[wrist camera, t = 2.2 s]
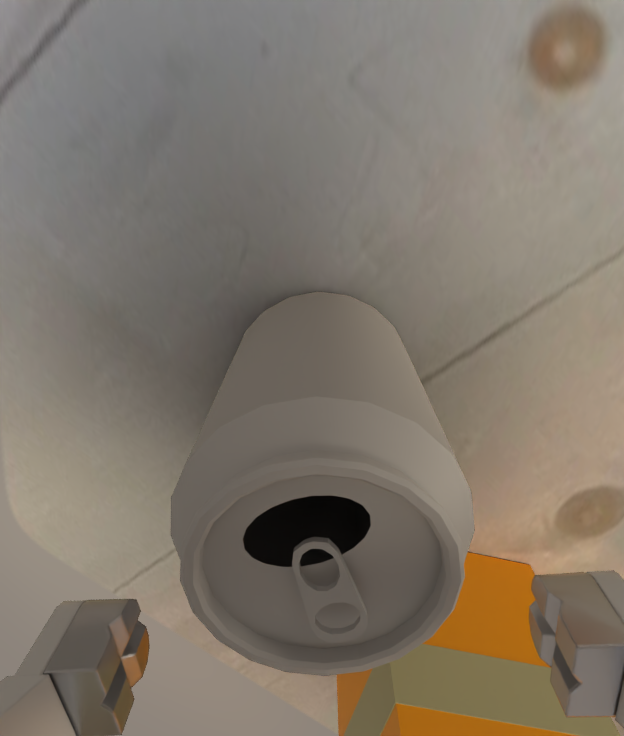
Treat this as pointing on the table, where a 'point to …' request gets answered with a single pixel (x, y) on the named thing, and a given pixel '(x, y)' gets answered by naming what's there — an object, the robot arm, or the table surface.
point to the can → (322, 496)
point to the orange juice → (467, 672)
